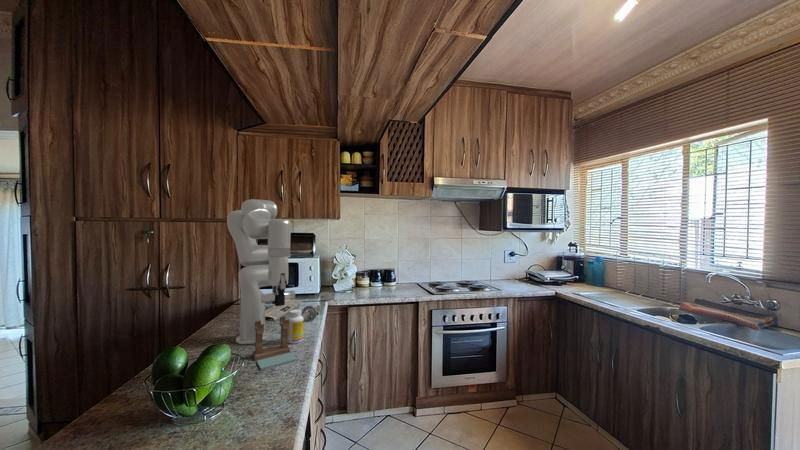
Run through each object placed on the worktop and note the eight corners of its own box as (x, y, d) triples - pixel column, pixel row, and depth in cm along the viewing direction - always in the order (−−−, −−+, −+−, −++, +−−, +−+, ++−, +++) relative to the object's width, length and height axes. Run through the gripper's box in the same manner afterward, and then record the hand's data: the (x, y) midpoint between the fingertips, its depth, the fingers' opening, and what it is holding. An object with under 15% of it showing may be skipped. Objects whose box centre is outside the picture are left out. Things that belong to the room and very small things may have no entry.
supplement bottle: (306, 339, 123) (306, 309, 123) (297, 345, 117) (297, 313, 117) (293, 337, 125) (293, 308, 125) (283, 343, 119) (283, 312, 119)
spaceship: (284, 315, 130) (301, 309, 130) (310, 303, 165) (323, 298, 165) (290, 332, 129) (306, 326, 129) (315, 317, 164) (328, 311, 164)
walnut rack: (252, 354, 107) (253, 321, 107) (285, 347, 115) (286, 316, 115) (255, 360, 102) (256, 325, 103) (290, 352, 110) (290, 319, 110)
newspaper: (274, 321, 147) (274, 314, 147) (251, 320, 148) (251, 314, 148) (302, 304, 183) (302, 298, 183) (283, 303, 183) (284, 297, 184)
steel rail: (262, 304, 98) (262, 295, 98) (260, 301, 100) (261, 293, 100) (294, 299, 105) (295, 291, 105) (292, 297, 107) (292, 289, 107)
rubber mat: (256, 362, 101) (256, 360, 101) (291, 353, 109) (291, 352, 109) (261, 370, 96) (261, 368, 96) (297, 360, 103) (297, 358, 103)
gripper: (262, 252, 107) (261, 301, 107) (273, 255, 94) (273, 311, 94) (283, 251, 112) (282, 298, 111) (296, 254, 99) (296, 307, 98)
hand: (278, 303), depth 102 cm, fingers closed on steel rail, 3 cm apart
